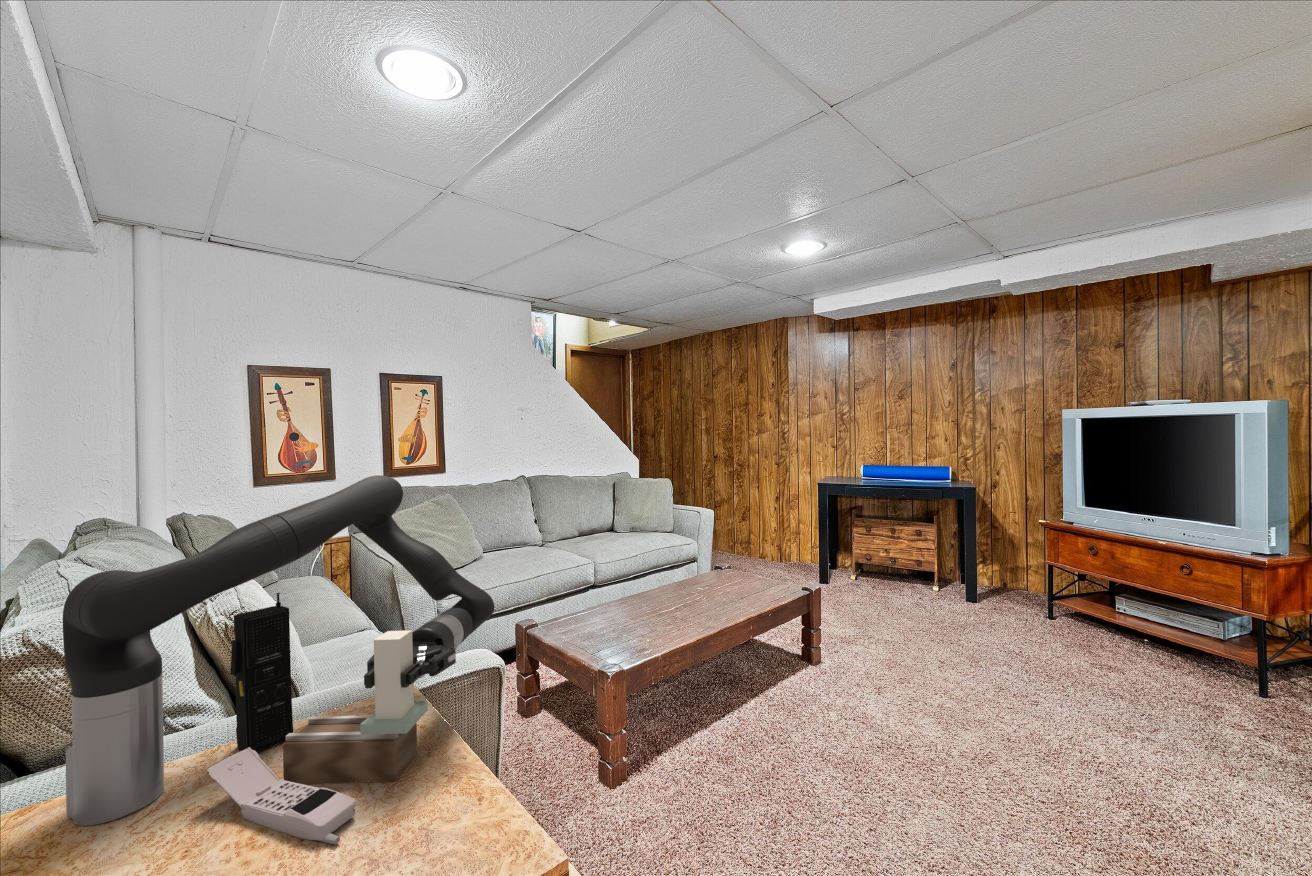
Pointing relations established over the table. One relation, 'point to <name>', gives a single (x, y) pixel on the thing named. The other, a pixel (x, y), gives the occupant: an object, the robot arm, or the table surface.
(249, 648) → the portable radio
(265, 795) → the mobile phone
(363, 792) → the table surface
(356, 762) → the walnut track
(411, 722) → the white pillar on base
